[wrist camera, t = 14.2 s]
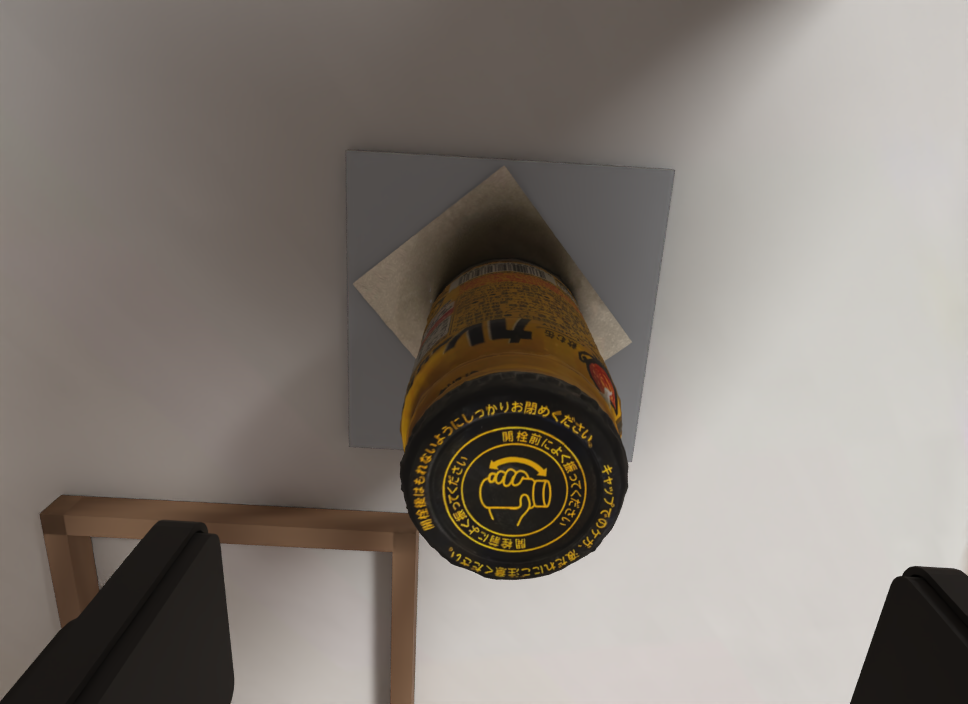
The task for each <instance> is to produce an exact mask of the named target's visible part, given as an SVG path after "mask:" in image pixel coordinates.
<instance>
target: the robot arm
mask: <svg viewBox="0 0 968 704" xmlns="http://www.w3.org/2000/svg"><path fill="white" fill-rule="evenodd" d="M233 691H234V671H233V662H232V652H231V642H230V633H229V623H228V613H227V604H226V594H225V584H224V575H223V565H222V556H221V546H220V540H219V537H218V535H217V534H212V533H208V528H207V526H206V525H205V523H202V522H194V521H178V520H160V521H158V522H157V523H156V524H154V525H153V527H152V528H151V529H150V530H149V531H148V533H147V534H146V535H145V536H144V537H143V539H142V540H141V541H140V542H139V544H138V545H137V546H136V547H135V548H134V550H133V551H132V552H131V553H130V554H129V556H128V557H127V558H126V559H125V561H124V562H123V563H122V564H121V565H120V567H119V568H118V569H117V570H116V571H115V573H114V574H113V575H112V576H111V577H110V579H109V580H108V581H107V582H106V584H105V585H104V586H103V587H102V588H101V590H100V591H99V592H98V593H97V594H96V596H95V597H94V598H93V599H92V601H91V602H90V603H89V604H88V605H87V607H86V608H85V609H84V610H83V611H82V613H81V614H80V615H79V616H78V618H76V619H73V620H71V621H69V622H68V623H67V624H66V625H65V626H64V627H63V628H62V629H61V630H60V631H59V632H58V633H57V634H56V636H55V637H54V638H53V639H52V640H51V642H50V643H49V644H48V645H47V646H46V647H45V649H44V650H43V651H42V652H41V653H40V655H39V656H38V657H37V658H36V659H35V661H34V662H33V663H32V664H31V665H30V667H29V668H28V669H27V670H26V671H25V673H24V674H23V675H22V676H21V677H20V679H19V680H18V681H17V682H16V683H15V685H14V686H13V687H12V688H11V689H10V690H9V692H8V693H7V694H6V695H5V696H4V698H3V699H2V700H1V701H0V704H230V703H231V700H232V696H233ZM850 704H968V576H967V575H966V574H965V573H963V572H962V571H960V570H957V569H954V568H937V567H921V566H913V567H909V568H908V569H907V570H905V571H904V573H903V575H902V576H899V577H896V578H895V579H894V580H893V582H892V583H891V586H890V589H889V592H888V594H887V597H886V600H885V603H884V606H883V609H882V612H881V615H880V618H879V621H878V624H877V627H876V629H875V632H874V635H873V638H872V641H871V644H870V647H869V650H868V653H867V656H866V659H865V661H864V664H863V667H862V670H861V673H860V676H859V679H858V682H857V685H856V688H855V691H854V694H853V696H852V699H851V702H850Z"/></svg>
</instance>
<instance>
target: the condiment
mask: <svg viewBox="0 0 968 704" xmlns="http://www.w3.org/2000/svg"><path fill="white" fill-rule="evenodd" d="M353 285H354V286H355V287H356V289H357V290H358V291H359V292H360V293H361V295H362V296H363V297H364V299H365V300H366V301H367V302H368V303H369V304H370V305H371V307H372V308H373V309H374V310H375V311H376V312H377V313H378V315H379V316H380V317H381V319H382V320H383V321H384V322H385V324H386V325H387V326H388V327H389V328H390V329H391V330H392V331H393V332H394V333H395V335H396V336H397V337H398V338H399V340H400V341H401V342H402V344H403V345H404V346H405V347H406V348H407V349H408V350H409V351H410V353H411V354H412V355H413V356H414V357H415V358H416V360H415V362H414V367H413V369H412V374H411V377H410V381H409V383H408V386H407V389H406V394H405V398H404V403H403V408H402V415H401V421H400V433H401V436H402V442H403V450H404V453H405V454H404V456H403V458H402V461H401V462H400V466H401V468H400V478H401V490H402V491H403V493H404V498H405V501H406V504H407V507H406V508H407V509H408V514H409V517H410V519H411V520H412V522H413V524H414V525H415V527H416V528H417V530H418V531H419V533H420V534H421V535H422V536H423V537H424V538H425V539H426V541H427V542H428V543H429V545H430V546H431V547H433V548H435V549H436V551H437V552H438V553H439V554H440V555H441V556H442V557H444V558H445V559H447V560H448V561H449V562H450V563H451V564H453V565H456V566H459V567H462V568H465V569H468V570H470V571H473V572H475V573H477V574H479V575H481V576H483V577H486V578H490V579H496V580H500V579H503V580H519V579H530V578H536V577H541V576H546V575H550V574H552V573H554V572H557V571H559V570H562V569H564V568H565V567H567V566H568V565H570V564H572V563H574V562H576V561H578V560H579V559H581V558H583V557H585V556H587V555H588V554H589V553H591V552H593V551H595V550H596V548H597V547H598V546H599V545H600V544H601V542H602V540H603V538H604V537H606V535H607V534H608V533H609V532H610V531H611V529H612V528H613V526H614V524H615V522H616V520H617V518H618V515H619V513H620V510H621V508H622V505H623V501H624V497H625V494H626V492H627V489H628V460H627V456H626V451H625V448H624V446H623V443H622V440H621V436H622V425H623V424H622V411H621V400H620V398H619V396H618V392H617V389H616V387H615V385H614V383H613V380H612V378H611V375H610V373H609V371H608V369H607V366H606V364H605V362H604V361H605V360H607V359H608V358H610V357H611V356H613V355H614V354H616V353H617V352H619V351H620V350H622V349H623V348H625V347H626V346H628V345H629V344H630V343H632V341H631V340H630V338H629V337H628V336H627V334H626V333H625V331H624V330H623V329H622V327H621V326H620V324H619V323H618V322H617V320H616V319H615V318H614V316H613V315H612V313H611V312H610V311H609V309H608V308H607V306H606V305H605V304H604V302H603V301H602V300H601V298H600V297H599V295H598V294H597V293H596V291H595V290H594V288H593V287H592V286H591V284H590V283H589V281H588V280H587V279H586V277H585V276H584V275H583V273H582V272H581V270H580V269H579V268H578V266H577V265H576V264H575V262H574V261H573V259H572V258H571V256H570V255H569V254H568V253H567V251H566V250H565V248H564V247H563V246H562V244H561V243H560V242H559V240H558V239H557V238H556V236H555V235H554V233H553V232H552V230H551V229H550V228H549V226H548V225H547V223H546V222H545V221H544V219H543V218H542V217H541V215H540V214H539V212H538V211H537V209H536V208H535V207H534V206H533V204H532V203H531V201H530V200H529V199H528V197H527V196H526V195H525V193H524V192H523V191H522V189H521V188H520V186H519V185H518V183H517V182H516V181H515V179H514V178H513V177H512V175H511V174H510V172H509V171H508V170H507V168H506V167H505V165H504V166H503V167H501V168H500V169H499V170H497V171H496V172H495V173H494V174H492V175H491V176H490V177H489V178H488V179H486V180H485V181H483V182H482V183H481V184H479V185H478V186H477V187H476V188H474V189H473V190H472V191H470V192H469V193H468V194H467V195H465V196H464V197H463V198H461V199H460V200H459V201H458V202H457V203H455V204H454V205H453V206H451V207H450V208H448V209H447V210H446V211H445V212H443V213H442V214H441V215H440V216H439V217H437V218H436V219H435V220H433V221H432V222H431V223H429V224H428V225H427V226H426V227H424V228H423V229H422V230H420V231H419V232H418V233H417V234H416V235H414V236H412V237H411V238H410V239H409V240H408V241H406V242H405V243H404V244H403V245H401V246H400V247H399V248H398V249H396V250H395V251H394V252H392V253H391V254H390V255H389V256H387V257H386V258H385V259H383V260H382V261H381V262H380V263H378V264H377V265H376V266H375V267H373V268H372V269H371V270H370V271H368V272H367V273H366V274H364V275H363V276H362V277H361V278H359V279H358V280H357V281H355V282H354V283H353ZM430 287H431V292H429V291H430ZM430 300H432V302H431V303H430Z"/></svg>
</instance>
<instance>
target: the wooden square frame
mask: <svg viewBox="0 0 968 704" xmlns="http://www.w3.org/2000/svg"><path fill="white" fill-rule="evenodd" d="M40 519H41V524H42V530H43V535H44V540H45V545H46V550H47V556H48V561H49V566H50V571H51V576H52V582H53V587H54V592H55V597H56V602H57V608H58V613H59V618H60V623H61V628H63V627H64V626H65V625H66V624H67V623H68V622H69V621H71V620H73V619H76V618H78V616H79V615H80V614H81V613H82V611H83V610H84V609H85V608H86V607H87V605H88V604H89V603H90V602H91V601H92V599H93V598H94V597H95V596H96V594H97V593H98V592H99V585H98V579H97V573H96V567H95V561H94V555H93V549H92V543H91V537H90V536H92V537H111V538H130V539H143V537H144V536H145V535H146V534H147V533H148V531H149V530H150V529H151V528H152V527H153V525H154V524H156V523H157V522H158V521H160V520H178V521H194V522H202V523H205V525H206V526H207V528H208V533H212V534H217V535H218V537H219V540H220V543H226V544H245V545H264V546H284V547H303V548H322V549H341V550H360V551H379V552H392V621H391V696H390V704H414V689H415V654H416V619H417V585H418V550H419V531H418V530H417V528H416V527H415V525H414V524H413V522H412V520H411V519H410V517H409V514H408V513H391V512H372V511H353V510H335V509H316V508H297V507H278V506H259V505H240V504H221V503H202V502H184V501H165V500H146V499H127V498H108V497H89V496H70V495H61V496H60V497H58V498H57V499H56V500H55V501H54V502H53V503H51V504H50V505H49V506H48V507H47V508H46V509H45V510H43V511H42V512H41V513H40Z"/></svg>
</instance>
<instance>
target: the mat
mask: <svg viewBox="0 0 968 704" xmlns="http://www.w3.org/2000/svg"><path fill="white" fill-rule="evenodd" d="M504 165H505V167H506V168H507V170H508V171H509V172H510V174H511V175H512V177H513V178H514V179H515V181H516V182H517V183H518V185H519V186H520V188H521V189H522V191H523V192H524V193H525V195H526V196H527V197H528V199H529V200H530V201H531V203H532V204H533V206H534V207H535V208H536V209H537V211H538V212H539V214H540V215H541V217H542V218H543V219H544V221H545V222H546V223H547V225H548V226H549V228H550V229H551V230H552V232H553V233H554V235H555V236H556V238H557V239H558V240H559V242H560V243H561V244H562V246H563V247H564V248H565V250H566V251H567V253H568V254H569V255H570V256H571V258H572V259H573V261H574V262H575V264H576V265H577V266H578V268H579V269H580V270H581V272H582V273H583V275H584V276H585V277H586V279H587V280H588V281H589V283H590V284H591V286H592V287H593V288H594V290H595V291H596V293H597V294H598V295H599V297H600V298H601V300H602V301H603V302H604V304H605V305H606V306H607V308H608V309H609V311H610V312H611V313H612V315H613V316H614V318H615V319H616V320H617V322H618V323H619V324H620V326H621V327H622V329H623V330H624V331H625V333H626V334H627V336H628V337H629V338H630V340H631V341H632V343H630V344H629V345H628V346H626V347H625V348H623V349H622V350H620V351H619V352H617V353H616V354H614V355H613V356H611V357H610V358H608V359H607V360H605V361H604V362H605V364H606V366H607V369H608V371H609V373H610V375H611V378H612V380H613V383H614V385H615V387H616V389H617V392H618V396H619V398H620V400H621V411H622V424H623V425H622V436H621V440H622V443H623V446H624V448H625V451H626V456H627V460H628V462H632V458H633V451H634V444H635V437H636V431H637V424H638V417H639V410H640V404H641V397H642V390H643V383H644V377H645V370H646V363H647V356H648V350H649V343H650V336H651V329H652V323H653V316H654V309H655V302H656V296H657V289H658V282H659V275H660V269H661V262H662V255H663V248H664V242H665V235H666V228H667V221H668V215H669V208H670V201H671V194H672V187H673V181H674V174H675V170H672V169H659V168H642V167H625V166H609V165H592V164H575V163H559V162H542V161H525V160H509V159H492V158H475V157H459V156H442V155H425V154H409V153H392V152H375V151H359V150H346V211H347V297H348V383H349V447H361V448H379V449H398V450H403V442H402V436H401V433H400V421H401V415H402V408H403V403H404V398H405V394H406V389H407V386H408V383H409V381H410V377H411V374H412V369H413V367H414V362H415V360H416V358H415V357H414V356H413V355H412V354H411V353H410V351H409V350H408V349H407V348H406V347H405V346H404V345H403V344H402V342H401V341H400V340H399V338H398V337H397V336H396V335H395V333H394V332H393V331H392V330H391V329H390V328H389V327H388V326H387V325H386V324H385V322H384V321H383V320H382V319H381V317H380V316H379V315H378V313H377V312H376V311H375V310H374V309H373V308H372V307H371V305H370V304H369V303H368V302H367V301H366V300H365V299H364V297H363V296H362V295H361V293H360V292H359V291H358V290H357V289H356V287H355V286H354V285H353V283H354V282H355V281H357V280H358V279H359V278H361V277H362V276H363V275H364V274H366V273H367V272H368V271H370V270H371V269H372V268H373V267H375V266H376V265H377V264H378V263H380V262H381V261H382V260H383V259H385V258H386V257H387V256H389V255H390V254H391V253H392V252H394V251H395V250H396V249H398V248H399V247H400V246H401V245H403V244H404V243H405V242H406V241H408V240H409V239H410V238H411V237H412V236H414V235H416V234H417V233H418V232H419V231H420V230H422V229H423V228H424V227H426V226H427V225H428V224H429V223H431V222H432V221H433V220H435V219H436V218H437V217H439V216H440V215H441V214H442V213H443V212H445V211H446V210H447V209H448V208H450V207H451V206H453V205H454V204H455V203H457V202H458V201H459V200H460V199H461V198H463V197H464V196H465V195H467V194H468V193H469V192H470V191H472V190H473V189H474V188H476V187H477V186H478V185H479V184H481V183H482V182H483V181H485V180H486V179H488V178H489V177H490V176H491V175H492V174H494V173H495V172H496V171H497V170H499V169H500V168H501V167H503V166H504ZM429 292H431V287H430V291H429ZM431 302H432V300H430V303H431Z"/></svg>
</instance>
